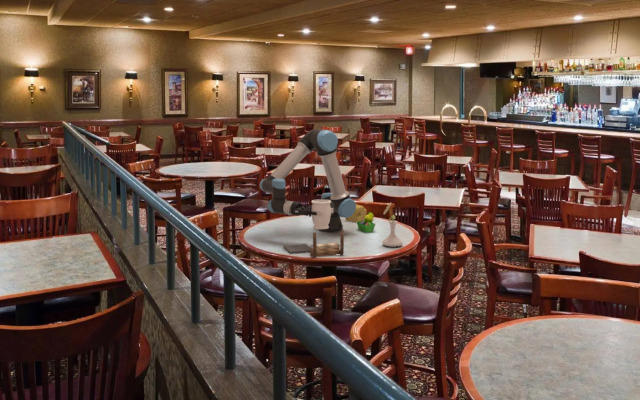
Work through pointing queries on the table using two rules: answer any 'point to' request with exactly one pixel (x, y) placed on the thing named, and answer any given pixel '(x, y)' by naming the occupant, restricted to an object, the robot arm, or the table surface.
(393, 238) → the flower in vase
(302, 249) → the mat
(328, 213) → the jar
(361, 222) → the fruit basket
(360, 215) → the cheese
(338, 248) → the board rack
